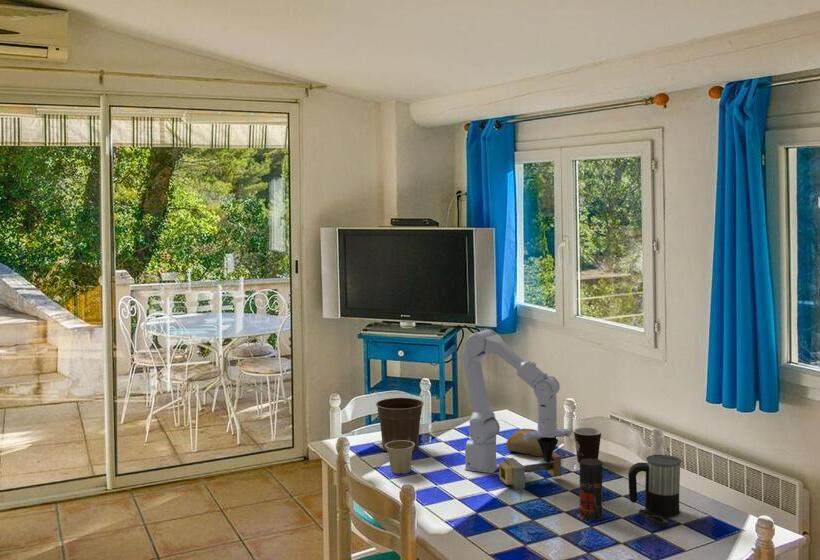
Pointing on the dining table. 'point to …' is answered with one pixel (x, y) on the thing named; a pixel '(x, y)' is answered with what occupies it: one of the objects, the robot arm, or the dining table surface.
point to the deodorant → (591, 489)
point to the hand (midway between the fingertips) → (547, 461)
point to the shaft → (547, 466)
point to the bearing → (517, 473)
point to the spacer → (506, 473)
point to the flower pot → (400, 455)
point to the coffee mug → (587, 443)
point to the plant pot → (400, 419)
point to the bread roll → (523, 443)
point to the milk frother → (658, 487)
